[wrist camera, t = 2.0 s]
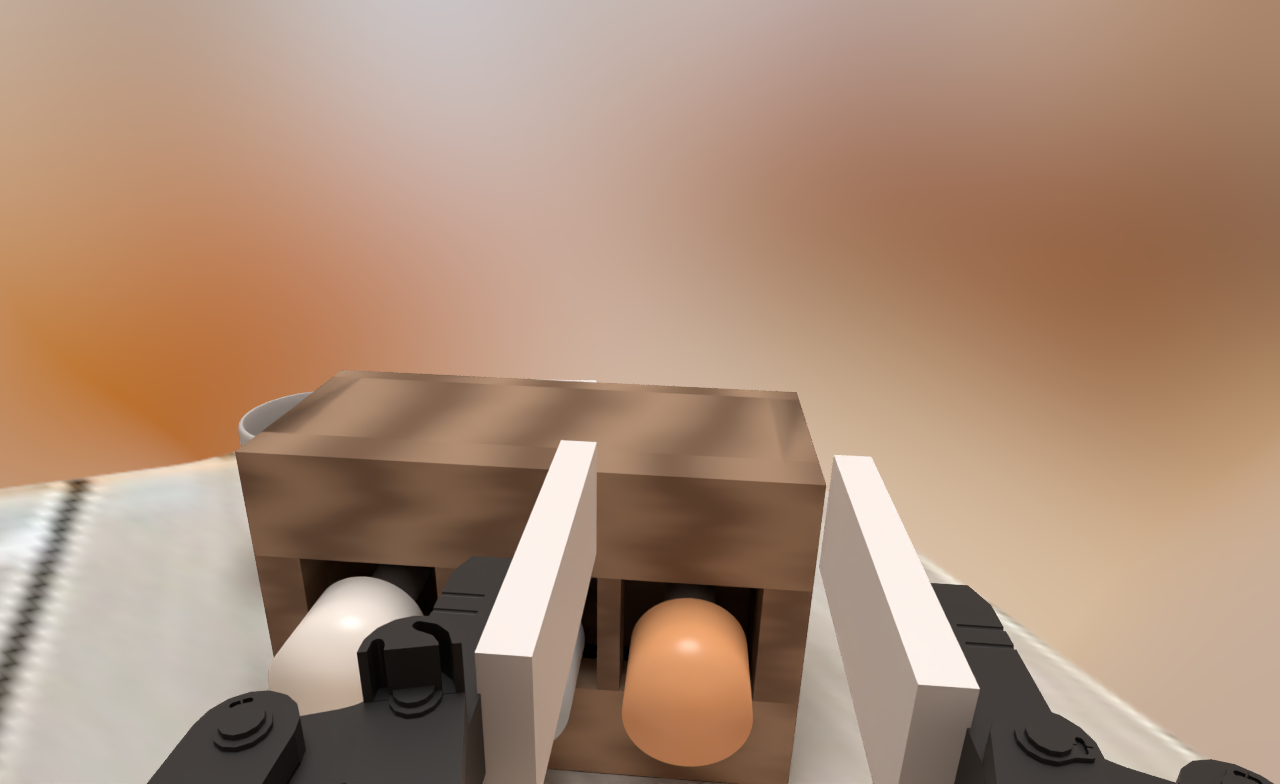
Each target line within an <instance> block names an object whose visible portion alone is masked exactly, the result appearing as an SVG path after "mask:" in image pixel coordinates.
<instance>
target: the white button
mask: <svg viewBox="0 0 1280 784" xmlns="http://www.w3.org/2000/svg"><path fill="white" fill-rule="evenodd" d="M429 576H430V567H424V566H409V565H393V564H379V565H378V567H377V568H376V570H375V571H374V573H373V574H372V575H371V577H350V578H346V579H343V580H340V581H337V582H336V583H334V584H332V585H331V586H330V587H328V588H327V589H326V590H325V591H324V592H323V594H322V595H321V596H320V598H319V599H318V600H317V601H316V603H315V604H314V605H313V607H312V608H311V609H310V611H309V612H308V613H307V615H306V616H305V617H304V619H303V620H302V621H301V623H300V624H299V625H298V626H297V628H296V629H295V630H294V632H293V633H292V634H291V636H290V637H289V638H288V640H287V641H286V642H285V644H284V645H283V646H282V648H281V649H280V650H279V651H278V653H277V654H276V655H275V657H274V659H273V660H272V662H271V664H270V667H269V672H268V683H269V688H270V691H275V692H279V693H283V694H287V695H288V696H289V697H290V698H292V699H293V700H294V701H295V702H296V703H297V704H298V709H299V714H300V716H303V715H308V714H314V713H320V712H326V711H331V710H337V709H341V708H345V707H349V706H353V705H356V704H358V703H361V702H363V695H362V688H361V681H360V674H359V666H358V659H357V651H358V649H359V647H360V645H361V644H362V642H363V640H364V639H365V638H366V637H367V636H368V635H370V634H371V633H372V632H373V631H374V630H375V629H377V628H378V627H380V626H382V625H385V624H387V623H389V622H391V621H393V620H396V619H401V618H405V617H410V616H423V614H422V611H421V610H420V608H419V606H418V605H417V604H416V600H417V598H418V596H419V595H420V593H421V591H422V589H423V587H424V586H425V584H426V582H427V580H428V578H429Z"/></svg>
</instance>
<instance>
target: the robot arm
mask: <svg viewBox="0 0 1280 784" xmlns="http://www.w3.org/2000/svg"><path fill="white" fill-rule="evenodd" d="M596 519H597V442H585V441H566V440H561V441H560V444H559V446H558V449H557V451H556V454H555V456H554V459H553V461H552V464H551V466H550V468H549V471H548V473H547V476H546V478H545V481H544V483H543V486H542V488H541V491H540V493H539V496H538V498H537V500H536V503H535V505H534V508H533V510H532V513H531V515H530V518H529V520H528V523H527V525H526V527H525V530H524V532H523V535H522V537H521V540H520V542H519V545H518V547H517V550H516V552H515V555H514V557H513V558H497V557H481V556H472V557H470V558H469V559H468V560H467V561H465V562H464V563H463V564H462V565H460V566H459V567H458V568H457V569H455V570H454V571H453V572H452V573H451V575H450V577H449V579H448V581H447V583H446V585H445V586H444V588H443V590H442V594H441V596H439V598H438V600H437V602H436V604H435V606H434V607H433V612H431V613H430V615H429V616H410V617H405V618H401V619H396V620H393V621H391V622H389V623H387V624H385V625H382V626H380V627H378V628H377V629H375V630H374V631H373V632H372V633H371V634H370V635H368V636H367V637H366V638H365V639H364V640H363V642H362V644H361V645H360V647H359V649H358V651H357V659H358V666H359V674H360V681H361V688H362V695H363V702H361V703H358V704H356V705H353V706H349V707H345V708H341V709H337V710H331V711H326V712H320V713H314V714H308V715H303V716H300V714H299V709H298V704H297V703H296V702H295V701H294V700H293V699H292V698H290V697H289V696H288V695H287V694H283V693H279V692H275V691H257V692H249V693H246V694H243V695H239V696H236V697H233V698H230V699H228V700H226V701H224V702H222V703H221V704H219V705H217V706H215V707H214V708H212V709H210V710H209V711H208V712H207V713H205V714H204V715H203V716H202V717H201V718H200V719H199V720H198V721H197V722H196V723H195V724H194V725H193V726H192V727H191V729H190V730H189V731H188V732H187V734H186V735H185V736H184V737H183V739H182V740H181V741H180V742H179V744H178V745H177V746H176V747H175V749H174V750H173V751H172V753H171V754H170V755H169V756H168V758H167V759H166V760H165V761H164V763H163V764H162V765H161V766H160V768H159V769H158V770H157V771H156V773H155V774H154V775H153V776H152V778H151V779H150V780H149V782H148V783H147V784H483V782H484V784H544V779H545V775H546V771H547V766H548V762H549V758H550V753H551V749H552V744H553V740H554V736H555V731H556V727H557V723H558V718H559V714H560V710H561V705H562V701H563V696H564V692H565V688H566V683H567V679H568V675H569V670H570V666H571V662H572V657H573V653H574V649H575V644H576V640H577V635H578V631H579V627H580V622H581V618H582V614H583V609H584V605H585V601H586V596H587V592H588V587H589V583H590V579H591V574H592V570H593V566H594V561H595V557H596ZM819 568H820V572H821V576H822V580H823V584H824V588H825V592H826V596H827V600H828V604H829V608H830V612H831V616H832V620H833V624H834V628H835V632H836V636H837V640H838V644H839V648H840V652H841V656H842V660H843V664H844V668H845V672H846V676H847V680H848V684H849V688H850V692H851V696H852V700H853V704H854V708H855V712H856V716H857V720H858V724H859V728H860V732H861V736H862V740H863V744H864V748H865V752H866V756H867V761H868V765H869V769H870V773H871V777H872V781H873V784H1273V783H1272V782H1270V781H1269V780H1267V779H1266V778H1264V777H1262V776H1261V775H1258V774H1256V773H1254V772H1252V771H1249V770H1247V769H1244V768H1242V767H1240V766H1237V765H1235V764H1231V763H1226V762H1221V761H1216V760H1212V759H1210V760H1197V761H1192V762H1190V763H1189V764H1187V765H1186V766H1184V767H1183V768H1182V769H1181V770H1180V773H1179V776H1178V778H1177V781H1176V783H1175V782H1172V781H1168V780H1165V779H1162V778H1159V777H1155V776H1152V775H1149V774H1146V773H1142V772H1139V771H1136V770H1133V769H1130V768H1126V767H1124V766H1121V765H1118V764H1116V763H1113V762H1111V761H1108V760H1106V759H1104V757H1103V755H1102V753H1101V751H1100V749H1099V747H1098V746H1097V744H1096V742H1095V741H1094V740H1093V739H1092V738H1091V737H1090V736H1089V735H1087V734H1086V733H1085V732H1084V731H1083V730H1082V729H1081V728H1080V727H1079V726H1077V725H1075V724H1074V723H1072V722H1070V721H1069V720H1067V719H1065V718H1064V717H1062V716H1060V715H1058V714H1055V713H1052V712H1051V710H1050V708H1049V707H1048V705H1047V703H1046V701H1045V700H1044V698H1043V696H1042V694H1041V693H1040V691H1039V689H1038V687H1037V686H1036V684H1035V682H1034V680H1033V678H1032V677H1031V675H1030V673H1029V671H1028V670H1027V668H1026V666H1025V664H1024V663H1023V661H1022V659H1021V657H1020V655H1019V654H1018V652H1017V650H1014V645H1013V643H1012V641H1011V640H1010V638H1009V636H1008V634H1007V633H1006V631H1003V625H1002V624H1001V622H1000V620H999V618H998V617H997V615H996V613H995V611H994V610H993V608H992V606H991V605H990V604H989V603H988V602H987V601H985V600H984V599H983V598H982V597H981V596H980V595H978V594H977V593H976V592H975V591H974V590H973V589H971V588H970V587H969V586H968V585H952V584H937V583H930V581H929V579H928V577H927V575H926V573H925V571H924V568H923V566H922V564H921V562H920V560H919V558H918V556H917V554H916V551H915V549H914V547H913V545H912V543H911V541H910V539H909V536H908V534H907V532H906V530H905V528H904V526H903V524H902V521H901V519H900V517H899V515H898V513H897V511H896V509H895V507H894V504H893V502H892V500H891V498H890V496H889V494H888V492H887V490H886V488H885V485H884V483H883V481H882V479H881V477H880V475H879V472H878V470H877V468H876V466H875V464H874V462H873V460H872V457H862V456H844V455H834V458H833V466H832V474H831V482H830V489H829V497H828V504H827V512H826V520H825V527H824V535H823V543H822V551H821V558H820V566H819Z"/></svg>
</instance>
